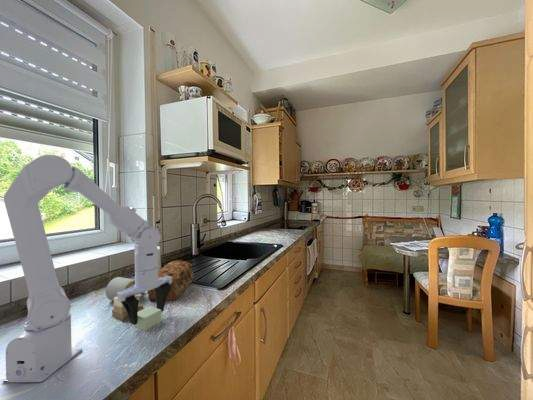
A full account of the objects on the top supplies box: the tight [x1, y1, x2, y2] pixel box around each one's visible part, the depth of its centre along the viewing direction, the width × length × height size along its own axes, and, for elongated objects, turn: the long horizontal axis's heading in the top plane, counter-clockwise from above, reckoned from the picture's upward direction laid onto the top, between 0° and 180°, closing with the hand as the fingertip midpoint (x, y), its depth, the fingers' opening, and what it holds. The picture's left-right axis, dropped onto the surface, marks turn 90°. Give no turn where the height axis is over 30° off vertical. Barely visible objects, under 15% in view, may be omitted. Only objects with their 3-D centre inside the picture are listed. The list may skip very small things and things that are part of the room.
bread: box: [146, 259, 194, 302], centre depth 86 cm, size 19×11×10 cm, turn 179°
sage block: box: [132, 305, 162, 331], centre depth 63 cm, size 5×5×4 cm
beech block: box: [113, 294, 141, 313], centre depth 68 cm, size 5×5×4 cm
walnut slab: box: [111, 304, 144, 323], centre depth 68 cm, size 6×6×2 cm
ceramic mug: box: [105, 276, 135, 301], centre depth 80 cm, size 11×8×8 cm
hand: (147, 316), depth 63 cm, fingers open, 7 cm apart
